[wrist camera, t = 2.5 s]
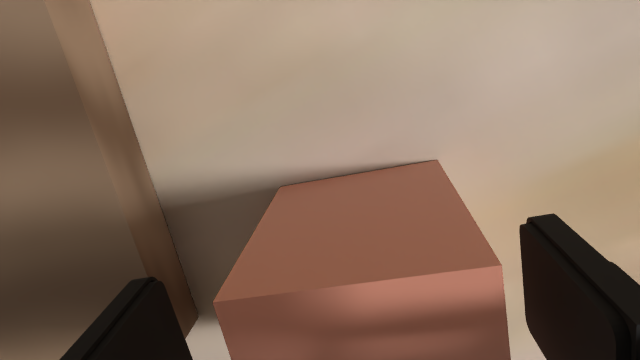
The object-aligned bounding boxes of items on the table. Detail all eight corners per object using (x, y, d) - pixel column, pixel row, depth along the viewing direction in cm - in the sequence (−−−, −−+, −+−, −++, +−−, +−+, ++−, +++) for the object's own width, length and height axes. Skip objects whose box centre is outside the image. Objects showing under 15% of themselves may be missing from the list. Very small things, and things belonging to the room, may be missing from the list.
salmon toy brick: (456, 299, 15) (522, 489, 8) (313, 316, 16) (277, 500, 9) (437, 159, 13) (501, 265, 7) (280, 186, 14) (212, 302, 8)
